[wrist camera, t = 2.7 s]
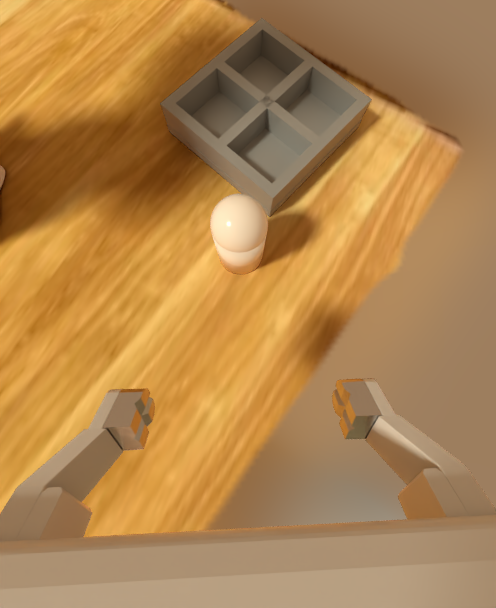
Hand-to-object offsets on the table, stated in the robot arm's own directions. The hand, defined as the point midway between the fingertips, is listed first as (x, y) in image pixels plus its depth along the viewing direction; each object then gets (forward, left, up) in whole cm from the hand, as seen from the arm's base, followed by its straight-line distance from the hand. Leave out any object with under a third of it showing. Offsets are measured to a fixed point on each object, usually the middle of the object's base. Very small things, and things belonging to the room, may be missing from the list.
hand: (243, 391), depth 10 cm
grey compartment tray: (-18, +23, -15) cm, 32 cm away
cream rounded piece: (-9, +9, -15) cm, 19 cm away
